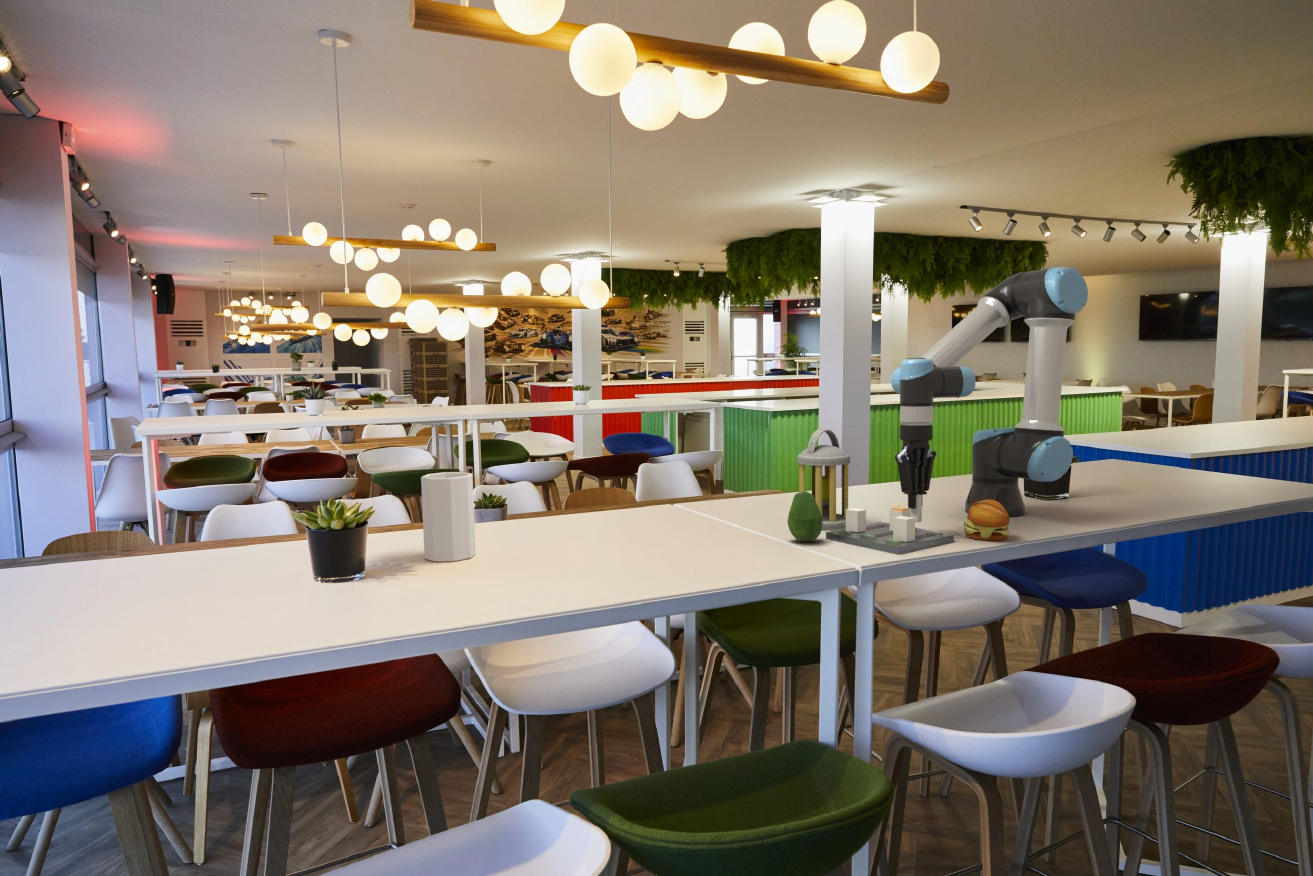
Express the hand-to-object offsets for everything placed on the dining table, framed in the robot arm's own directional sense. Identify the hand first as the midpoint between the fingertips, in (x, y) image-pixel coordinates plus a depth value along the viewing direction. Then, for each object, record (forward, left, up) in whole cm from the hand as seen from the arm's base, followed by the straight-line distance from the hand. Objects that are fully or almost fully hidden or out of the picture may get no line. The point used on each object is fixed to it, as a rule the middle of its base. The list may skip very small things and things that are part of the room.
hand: (915, 521), depth 198 cm
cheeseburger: (-10, +13, -4) cm, 17 cm away
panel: (+10, 0, -3) cm, 10 cm away
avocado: (+26, -11, -4) cm, 28 cm away
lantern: (+8, -22, -4) cm, 24 cm away
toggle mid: (+6, 0, -2) cm, 6 cm away
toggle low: (+13, -7, -2) cm, 15 cm away
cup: (+97, -52, -4) cm, 110 cm away
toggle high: (+13, +7, -2) cm, 15 cm away
